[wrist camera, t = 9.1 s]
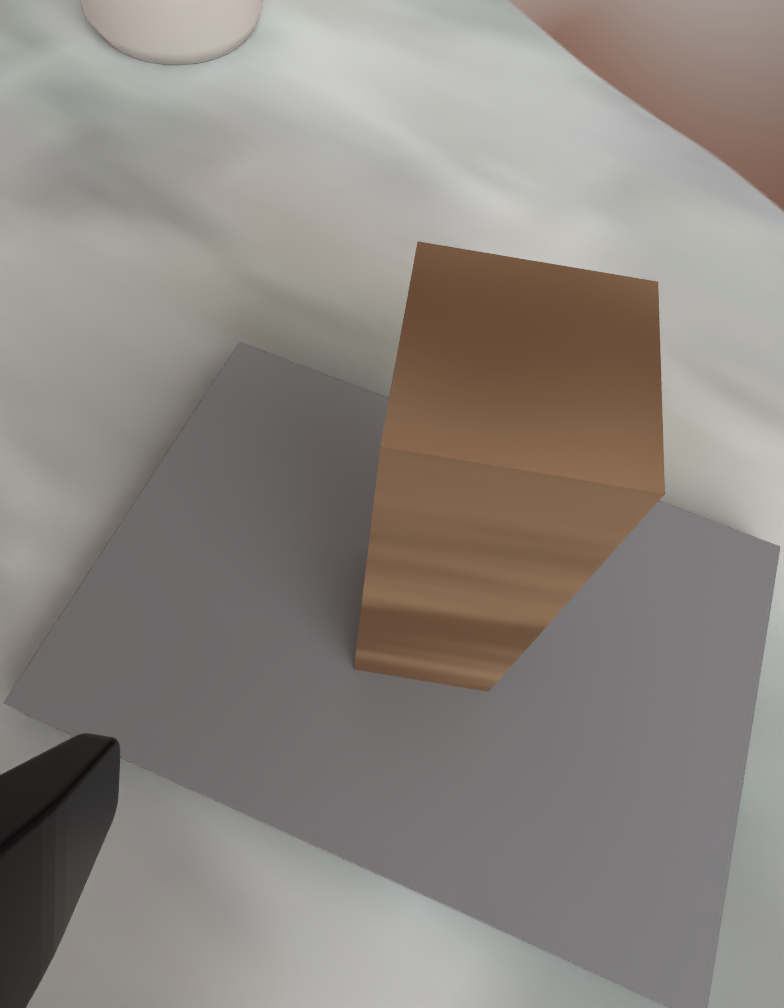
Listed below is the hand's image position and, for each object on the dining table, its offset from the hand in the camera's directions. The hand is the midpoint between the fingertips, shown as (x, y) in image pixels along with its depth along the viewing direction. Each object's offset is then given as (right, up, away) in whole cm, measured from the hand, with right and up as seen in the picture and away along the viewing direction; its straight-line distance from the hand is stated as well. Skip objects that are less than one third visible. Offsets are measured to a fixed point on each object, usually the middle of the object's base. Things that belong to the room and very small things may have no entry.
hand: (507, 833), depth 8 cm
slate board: (0, 0, +15) cm, 15 cm away
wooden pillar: (0, 0, +14) cm, 14 cm away
